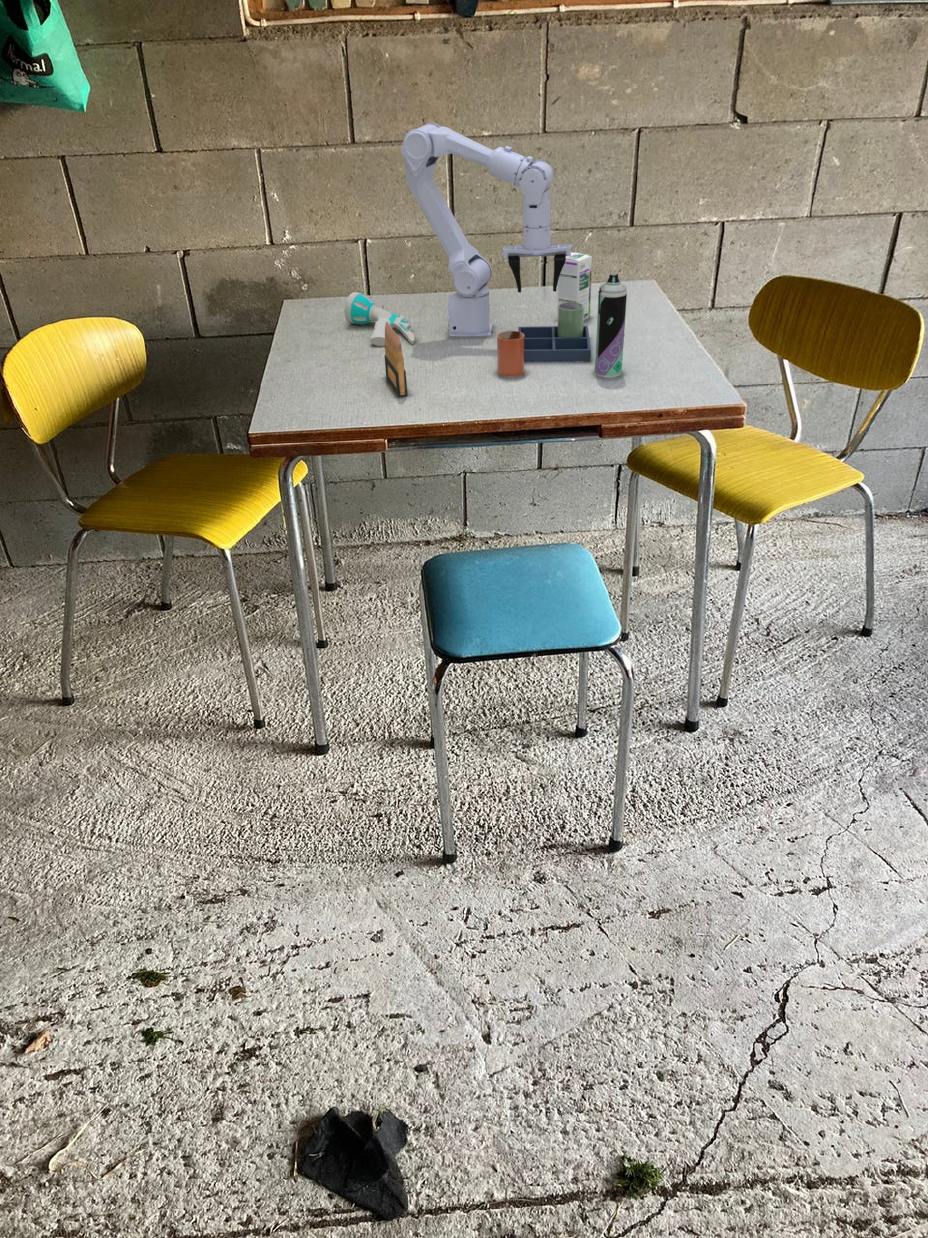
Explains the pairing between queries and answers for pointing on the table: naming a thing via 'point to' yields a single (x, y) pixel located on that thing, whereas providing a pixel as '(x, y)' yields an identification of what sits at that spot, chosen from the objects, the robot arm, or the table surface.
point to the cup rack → (554, 345)
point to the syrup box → (576, 281)
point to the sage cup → (570, 320)
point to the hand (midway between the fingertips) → (537, 290)
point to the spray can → (610, 327)
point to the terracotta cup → (510, 353)
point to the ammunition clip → (394, 362)
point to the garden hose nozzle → (375, 318)
